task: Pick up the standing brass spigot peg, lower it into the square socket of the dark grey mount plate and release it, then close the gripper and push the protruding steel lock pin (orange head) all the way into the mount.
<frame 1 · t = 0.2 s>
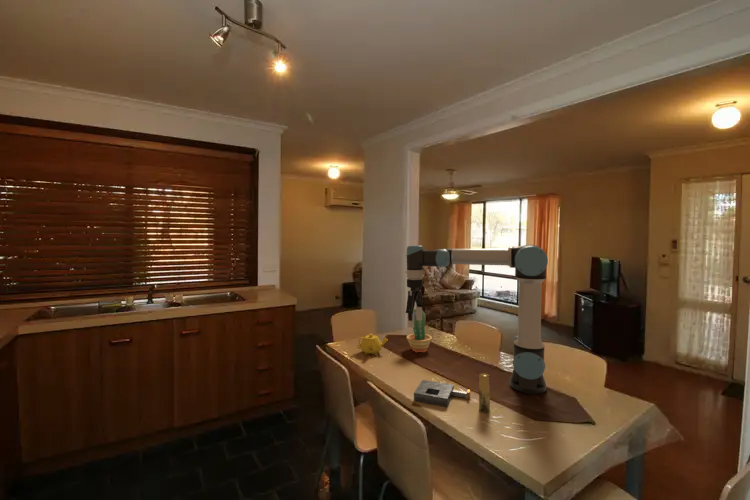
hand: (415, 323, 163), 28 cm above the table, fingers open, 13 cm apart
potted cactus: (419, 350, 208), on the table
lock pin: (453, 392, 150), point 2 cm above the table, slide at 0.0 cm
spigot: (484, 410, 137), on the table
mount: (434, 396, 149), on the table
teapot: (372, 353, 204), on the table
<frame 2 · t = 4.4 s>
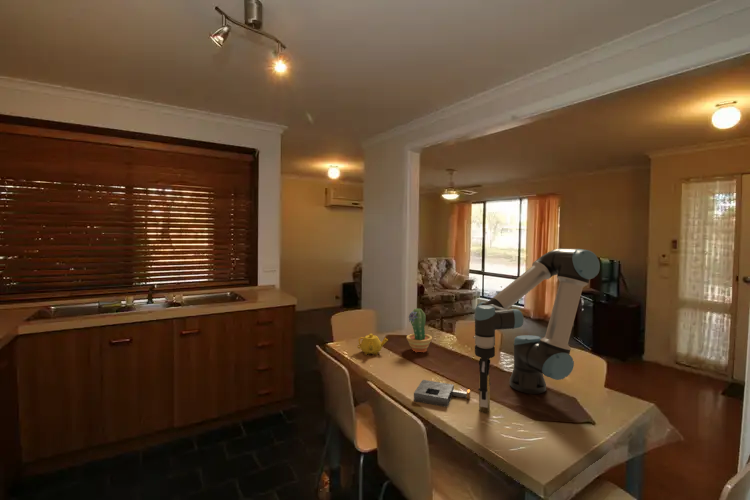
hand: (484, 403, 137), 3 cm above the table, fingers closed on spigot, 4 cm apart
spigot: (484, 410, 137), on the table, touching gripper
everything else where it was.
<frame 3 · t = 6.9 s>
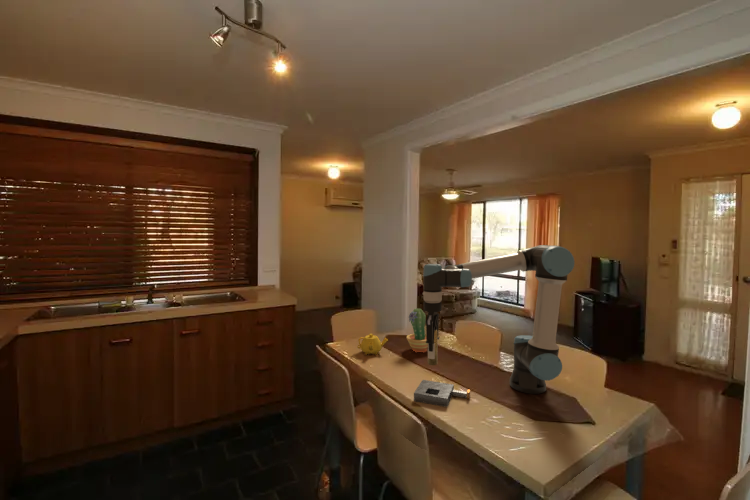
hand: (432, 356, 145), 19 cm above the table, fingers closed on spigot, 4 cm apart
spigot: (432, 363, 145), point 16 cm above the table, touching gripper
everything else where it was.
when the fingers open (5 cm above the table, at t = 9.6 s): spigot drops 2 cm, resting in mount.
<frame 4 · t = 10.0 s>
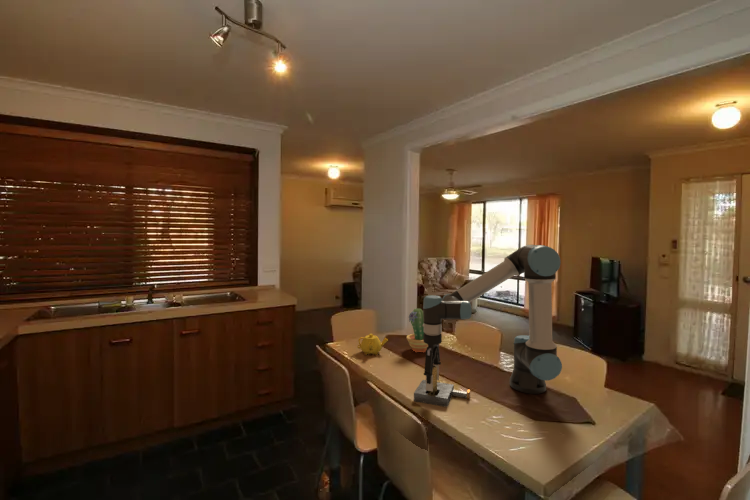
hand: (432, 384, 146), 6 cm above the table, fingers open, 10 cm apart
spigot: (432, 399, 146), resting in mount
everything else where it was.
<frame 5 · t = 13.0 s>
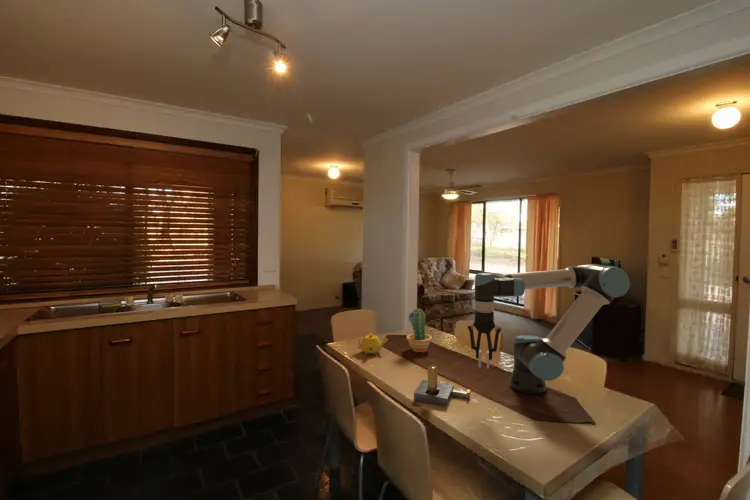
hand: (483, 366, 144), 15 cm above the table, fingers open, 3 cm apart
nothing on the table moved.
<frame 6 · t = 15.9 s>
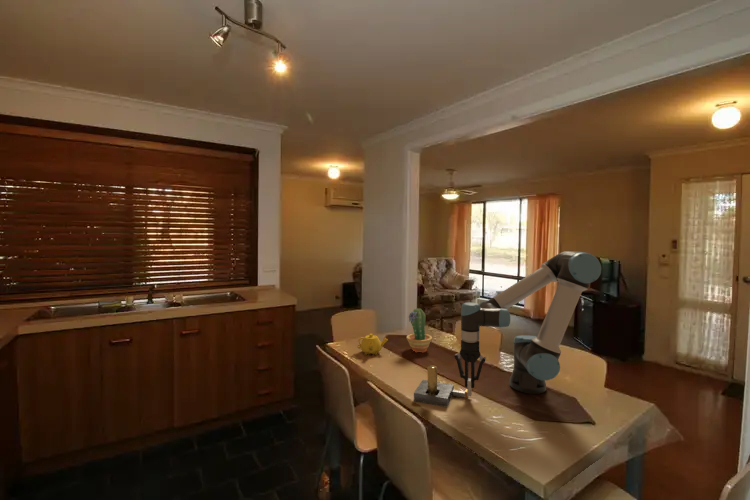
hand: (469, 394, 147), 2 cm above the table, fingers closed
lock pin: (452, 391, 150), point 2 cm above the table, slide at 0.8 cm, touching gripper
everything else where it was.
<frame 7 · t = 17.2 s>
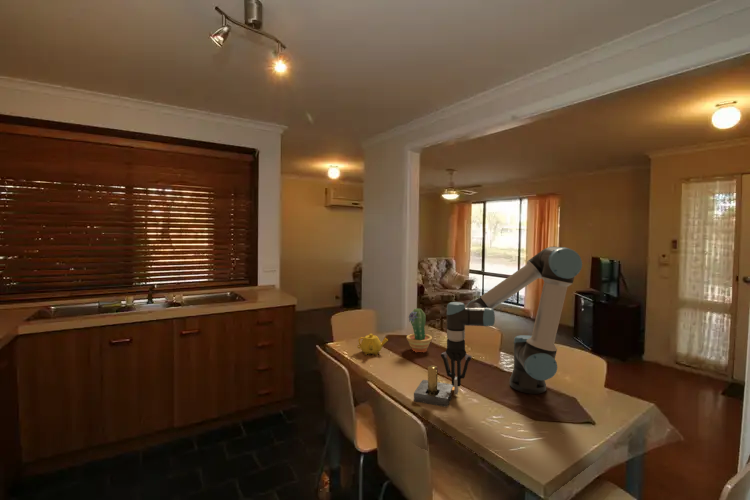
hand: (456, 392, 149), 1 cm above the table, fingers closed
lock pin: (439, 389, 152), point 2 cm above the table, slide at 6.3 cm, touching gripper, mount
everything else where it was.
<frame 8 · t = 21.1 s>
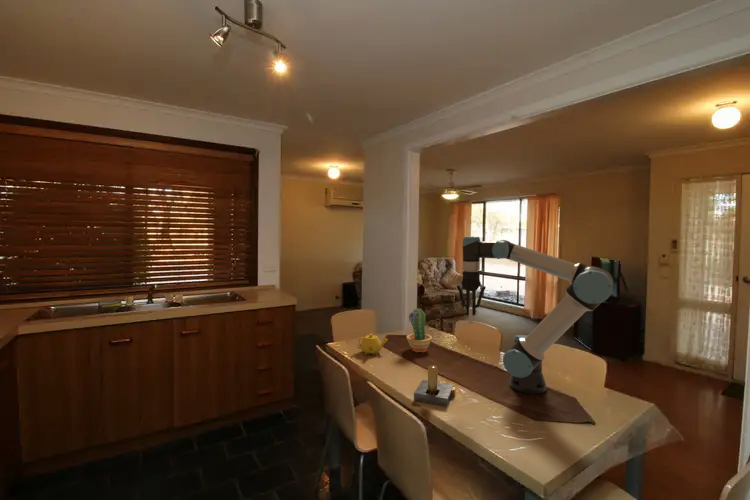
hand: (470, 322, 158), 29 cm above the table, fingers closed
lock pin: (439, 389, 152), point 2 cm above the table, slide at 6.3 cm
everything else where it was.
at the end: spigot 0.1 cm from the target spot on the mount, point 0.0 cm above the mount's base; spigot tilted 1°; lock pin slide at 6.3 cm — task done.
